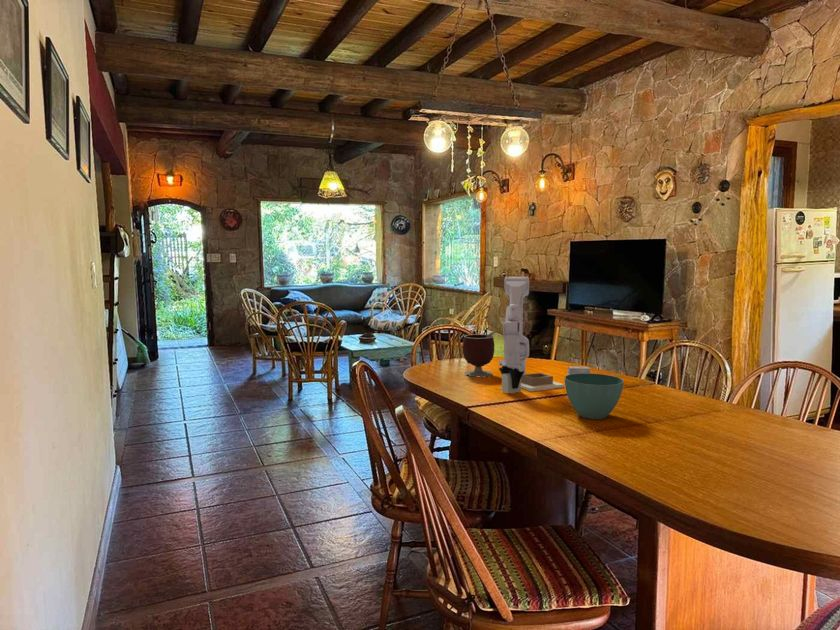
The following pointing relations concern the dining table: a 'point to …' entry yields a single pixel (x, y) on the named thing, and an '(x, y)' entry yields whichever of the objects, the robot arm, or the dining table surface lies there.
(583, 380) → the teal bowl
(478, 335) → the mate gourd
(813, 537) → the dining table surface
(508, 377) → the block
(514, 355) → the robot arm
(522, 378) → the slot stand
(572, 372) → the medicine box
